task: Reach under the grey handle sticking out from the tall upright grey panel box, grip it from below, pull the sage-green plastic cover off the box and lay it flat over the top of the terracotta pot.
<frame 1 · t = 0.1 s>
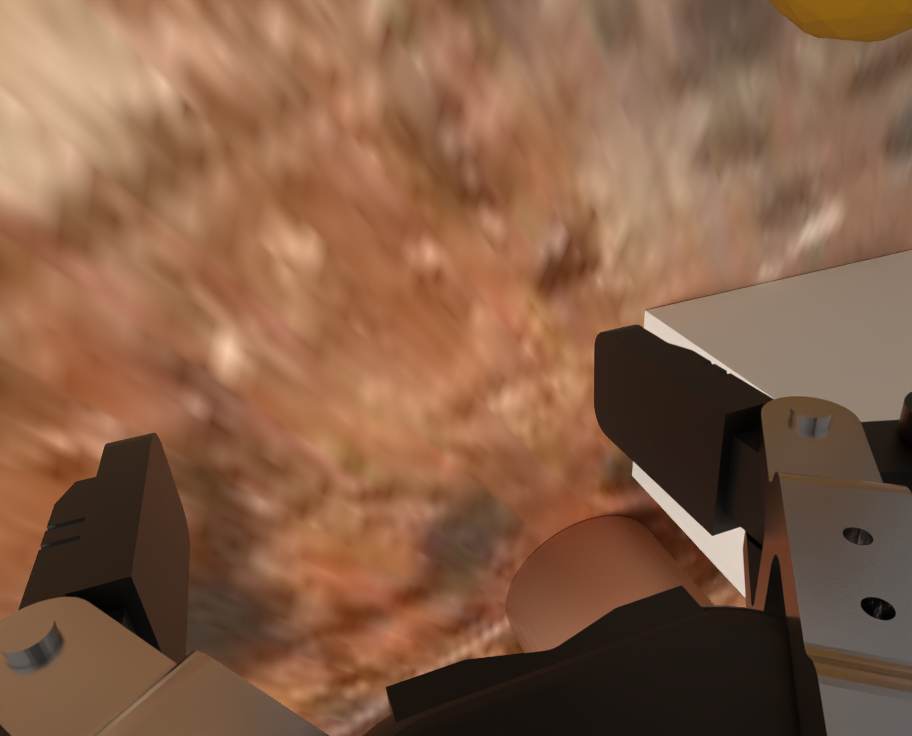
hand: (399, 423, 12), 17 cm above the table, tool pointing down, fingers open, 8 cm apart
terracotta pot: (584, 583, 44), on the table
upright grey panel box: (770, 364, 40), on the table
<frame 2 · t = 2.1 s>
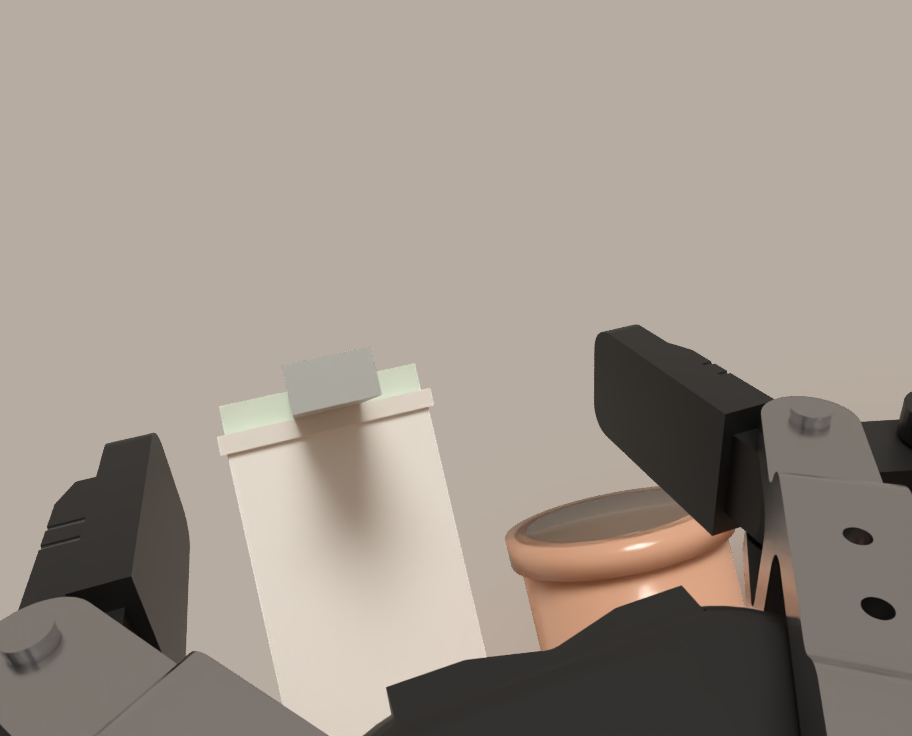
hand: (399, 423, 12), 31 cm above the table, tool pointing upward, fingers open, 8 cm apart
cover: (322, 414, 44), point 32 cm above the table, touching upright grey panel box
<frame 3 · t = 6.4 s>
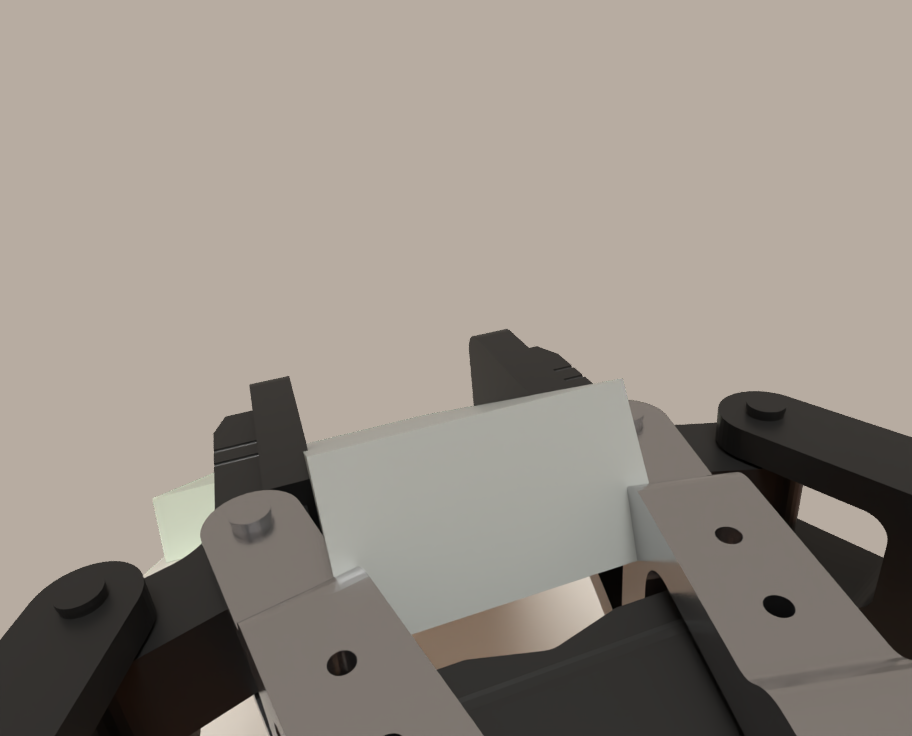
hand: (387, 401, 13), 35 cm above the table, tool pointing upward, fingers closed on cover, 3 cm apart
cover: (359, 485, 24), point 32 cm above the table, touching gripper, upright grey panel box
when the fingers open (27 cm above the table, at t = 14.1 s): cover drops 1 cm, resting on terracotta pot.
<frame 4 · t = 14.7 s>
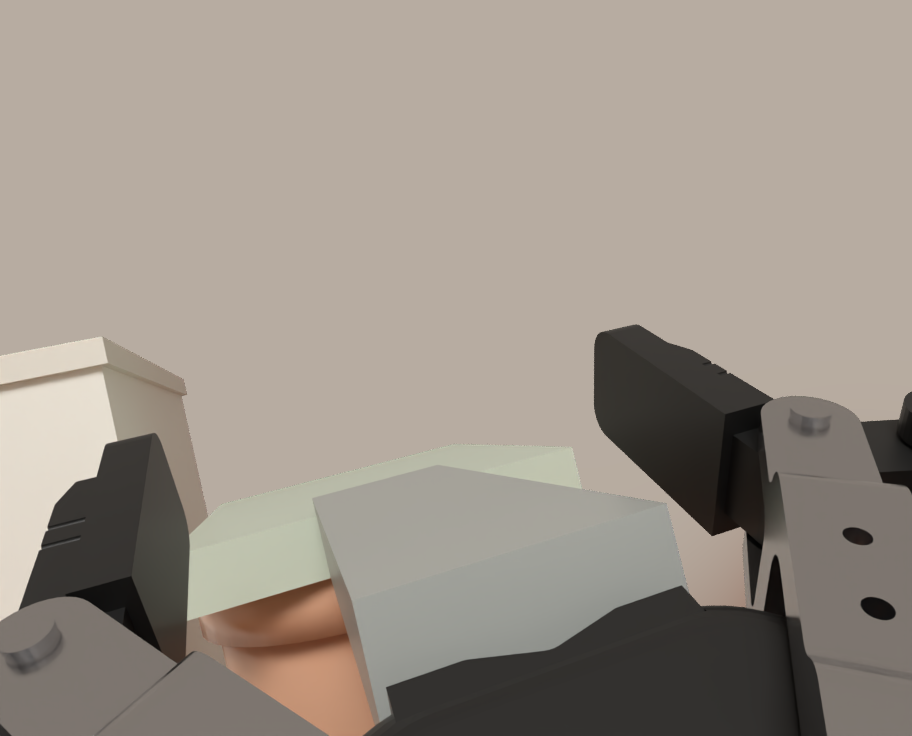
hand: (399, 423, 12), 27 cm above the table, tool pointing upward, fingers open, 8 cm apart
cover: (368, 525, 24), point 23 cm above the table, touching terracotta pot
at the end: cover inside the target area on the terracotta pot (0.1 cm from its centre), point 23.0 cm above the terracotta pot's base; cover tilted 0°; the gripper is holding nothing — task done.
